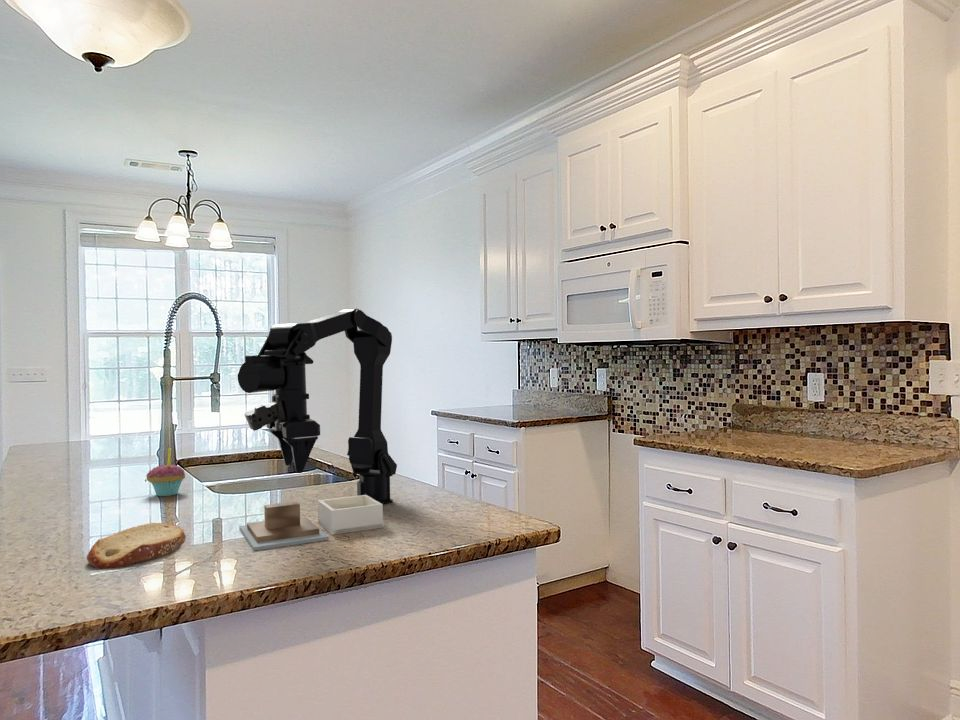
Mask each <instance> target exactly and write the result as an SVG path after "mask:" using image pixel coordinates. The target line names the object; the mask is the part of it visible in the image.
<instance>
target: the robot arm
mask: <svg viewBox="0 0 960 720" xmlns="http://www.w3.org/2000/svg"><path fill="white" fill-rule="evenodd" d="M342 332H344V334H345V337H346V338H347V339H348V340H349V341H350V342H351V343H353V353H354V355H355V357H356V359H357V361H358V363H359V365H360V366H359V367H360V368H359V369H360V370H359V397H358V400H359V402H358V426H357V427H358V428H357V430H356V432H355V434H354V436H349V437H348V440H347V443H348V444H347V446H348V448H347V453H346V455H347V456H348V461H349V463H350V466H351V469H352V473H353V475H358V481H357V482H356V490H357V491H356V496H360V495H367V496H369V497H371V498H373V499H374V500H376V501H378V502H380V503H381V504H388V503H393V502H394V499H392V498H391V477H393V476H394V475H396V472H397V467H398V464H397V463H396V462H395V461H394V458H392V457H391V455H390V454H389V448H388V441H387V439H386V437H385V435H384V433H383V431H382V427H381V426H382V402H383V373H384V372H383V371H384V365H385V363H386V361H387V360H388V358H389V356H390V354H391V349H392V343H393V336H392V332H391V331H390V329H389V328H388V327H387V326H385V325H383V324H382V322H381V321H379V320H377V319H375V318H373V317H371V316H369V315H368V314H366V313H365V312H364V311H363V310H362V309H359V308H345V309H341V310H339V311H337V312H335V313H331V314H328V315H325V316H322V317H318V318H316V319H315V318H314V319H312V320H309V321H305V322H294V323H277V324H273V325H272V326H271V327H270V328H269V333H268V335H267V338H266V339H265V341H264V343H263V345H262V346H261V349H260V351H259V353H257V354H255V355H254V354H253V355H251V354H250V355H245V356H244V358H245V359H244V361H245V362H243V363H242V365H240V367H239V370H238V374H237V381H238V385H239V386H240V389H241V390H242V391H243V392H244V393H247V394H254V393H262V392H263V393H264V392H270V391H275V393H273V394H272V395H271V402H269V403H266V404H260V406H258V407H254V408H253V409H251V410H249V411H247V412H245V413H244V417H245V418H246V421H247V422H246V423H248V426H249V429H250V430H252V431H253V432H254V431H259V430H261V429H262V428H263V427H264V426H265V427H266V428H267V429H268V432H269V433H271V434H272V436H274V437H276V439H277V441H278V445H279V447H280V451H281V454H282V458H283V461H284V465H285V466H291V465H292V463H293V464H294V469H295V472H296V474H301V473H303V471H304V469H305V467H306V465H307V462H308V460H309V458H310V455H311V452H312V451H313V448H314V445H315V444H316V442H317V440H318V439H319V436H321V425H320V424H319V423H318V422H317V421H316V420H314V419H312V418H311V417H310V416H311V415H310V414H308V408H307V406H308V404H307V402H308V401H307V400H309V399H310V393H307V377H306V376H307V375H306V365H312V364H314V360H313V358H311V357H310V356H309V355H307V353H306V352H308V351H309V350H310V349H311V348H313V347H315V345H316V344H317V342H319V341H320V340H322V339H325V338H328V337H331V336H334V335H337V334H340V333H342Z"/></svg>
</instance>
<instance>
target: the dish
mask: <svg viewBox="0 0 960 720" xmlns="http://www.w3.org/2000/svg"><path fill="white" fill-rule="evenodd" d="M383 504H384V503H382V504H381V503H380V502H378V501H376V500H374V499H373V498H371V497H369V496H367V495H360V496H357V495H353V496H343V497H334V498H327V499H318V500H317V523H318V524H319V525H320V526H321V527H322V528H324V529H325V530H326V532H328V533H329V534H330V535H332V536H333V535H341V534H347V533H354V532H355V533H356V532H360V531H369V530H377V529H383V528H384V509H383V508H384V505H383Z"/></svg>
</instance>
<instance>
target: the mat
mask: <svg viewBox="0 0 960 720" xmlns="http://www.w3.org/2000/svg"><path fill="white" fill-rule="evenodd" d="M238 527H239V531H240V532H241V534H242V535H243V537H244V538H245V540H246V541H247V543H248V545H250V547H251V549H252V550H253V552H254V551H261V550H267V549H273V548H274V549H275V548H282V547H289V546H296V545H302V544H303V545H304V544H309V543H316V542H322V541H329V535H327V534H326V533H325V532H324V531H323V530H321V529H320V528H319V534H316V535H309V536H302V537H294V538H287V539H280V540H273V541H266V542H258V543H257V542H256V540H255V539H254V537H253V536H252V535H251V533H250V532H249V530H248V529H247V524H246V525H239V526H238Z"/></svg>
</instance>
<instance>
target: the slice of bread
mask: <svg viewBox="0 0 960 720" xmlns="http://www.w3.org/2000/svg"><path fill="white" fill-rule="evenodd" d="M185 540H186V534H185V531H184V528H181V526H178V525H175V524H171V523H170V524H169V523H164V522H150V523H145V524H141V525H140V524H139V525H137V526H133V527H130V528H126V529H123V530H121V531H118V532H117V533H114V534H110V535H108V536H105V537H103V538H99V539H97V541H95V543H94V544H93V545H92V546H91V548H90V550H89V552H88V553H87V556H86V560H87V562H88V563H89V564H90V566H92V567H94V568H95V569H96V568H97V569H96V570H108V569H120V568H125V567H128V566H131V565H136V564H139V563H144V562H145V563H146V562H149V561H152V560H155V559H158V558H161V557H163V556H165V555H168V554H170V553H171V552H173V551H176V550H177V549H178V548H179V547H180V546H181V545H183V544H184V542H185Z"/></svg>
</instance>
